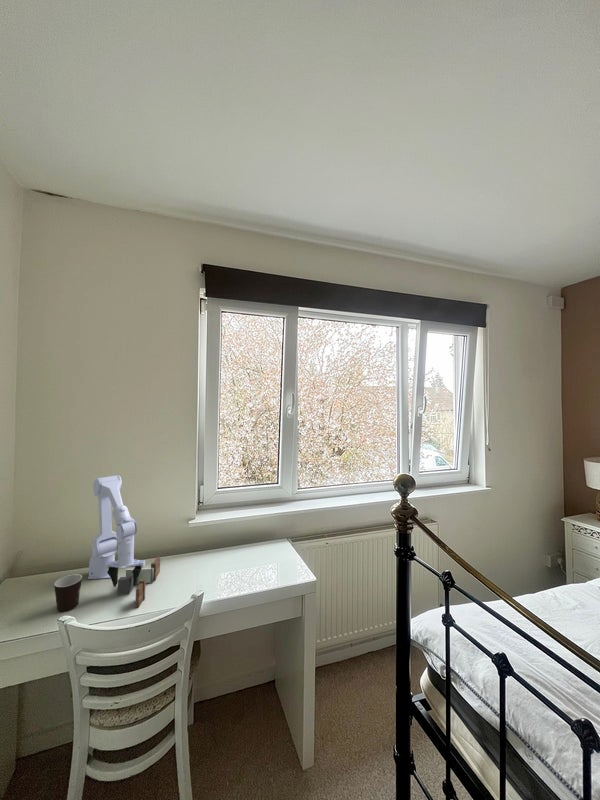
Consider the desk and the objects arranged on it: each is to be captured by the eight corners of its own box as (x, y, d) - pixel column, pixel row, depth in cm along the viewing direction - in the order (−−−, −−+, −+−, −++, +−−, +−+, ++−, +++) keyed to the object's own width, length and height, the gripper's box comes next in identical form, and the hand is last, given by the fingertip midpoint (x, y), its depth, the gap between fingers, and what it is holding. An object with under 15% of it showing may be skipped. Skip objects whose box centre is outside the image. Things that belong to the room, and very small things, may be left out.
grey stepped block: (129, 594, 129) (129, 579, 129) (117, 595, 128) (117, 580, 128) (135, 584, 136) (136, 570, 136) (125, 585, 135) (125, 571, 135)
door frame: (134, 607, 121) (134, 587, 121) (156, 571, 146) (156, 555, 146) (139, 607, 121) (140, 587, 121) (160, 571, 146) (161, 555, 146)
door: (153, 581, 138) (153, 567, 138) (152, 582, 137) (153, 568, 137) (126, 582, 137) (126, 568, 137) (125, 584, 136) (125, 569, 136)
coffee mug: (72, 614, 117) (73, 586, 117) (47, 614, 116) (48, 587, 116) (90, 594, 128) (91, 569, 128) (68, 595, 128) (68, 570, 128)
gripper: (102, 557, 125) (101, 591, 125) (141, 555, 127) (140, 589, 127) (110, 548, 132) (110, 581, 132) (147, 547, 134) (146, 579, 134)
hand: (125, 584), depth 130 cm, fingers open, 7 cm apart
